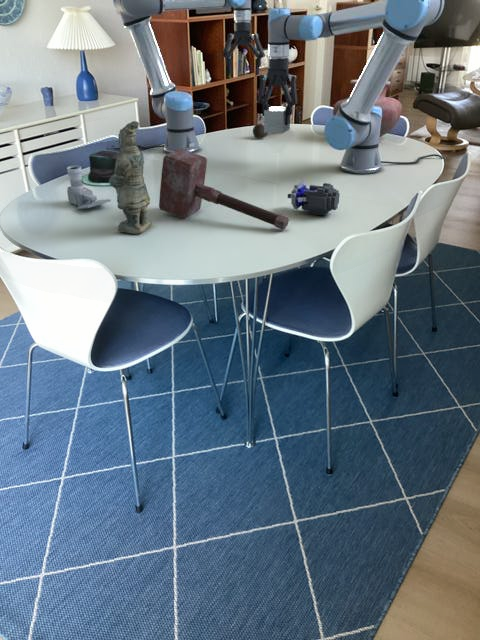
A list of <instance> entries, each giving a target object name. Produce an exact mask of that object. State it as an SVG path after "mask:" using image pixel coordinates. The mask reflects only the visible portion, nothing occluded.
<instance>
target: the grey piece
mask: <svg viewBox="0 0 480 640" xmlns="http://www.w3.org/2000/svg"><path fill="white" fill-rule="evenodd" d="M66 171H67V176H68V177H69V182H70V186H67V189H66V193H67V200H68V202H69V203H70V204H71V205H75V206H77V207H76V209H77V210H79V209H80V210H81V209H90V208H93V207H96V206H100V205H103V204H106V203H109V202H111V201H112V199H109V198H107V199H98V198H97V197H98V196H97V195H94V193H93V190H92V189H90V188H87V187H84V184H83V183H84V182H83V181H82V178H83V177H82V175H83V172H82V166H80V165H69V166H67V168H66Z"/></svg>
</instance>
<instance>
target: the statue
mask: <svg viewBox="0 0 480 640" xmlns="http://www.w3.org/2000/svg"><path fill="white" fill-rule="evenodd" d="M139 126H140V122H139V121H136V120H134V121H131V122H129V123H127V124H126V125H125V126H123V127H122V128H121V129H119V133H118V139H117V141H118V146H119V147H118V148H120V150H119V152H118V153H119V154H118V156H117V160H116V164H115V170H114V175H113V176H111V178H110V179H109V183H110V185H109V186H111V187H112V188H113V189H115V191H116V203H117V209H119V210H122V213H123V214H124V215H125V218H126V219H125V220H122V221H120V222H119V224H118V225H117V231H118V232H121V233H126V234H134V235H136V234H142V233H143V232H145V231H146V230H147V229H148V228H150V227H151V226H152V225H153V223H152V220H150V219H148V216H147V214H148V213H147V212H148V211H147V209H148V206H149V205H150V204H151V198H150V195H149V191H148V188H147V184H146V182H145V178H144V165H145V157H144V153H143V151H142V150H141V149H139V147H137V146H136V145H137V144H138V142H137V141H138V140H137V139H138V137H137V132H138V131H139V128H140V127H139Z"/></svg>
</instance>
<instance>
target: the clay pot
mask: <svg viewBox="0 0 480 640" xmlns="http://www.w3.org/2000/svg"><path fill="white" fill-rule="evenodd" d="M358 80H359V79H351V80H350V84H351V85H352V86H353V89H354V88H355V86H356V84H357V82H358ZM390 85H391V81H389V80H388V81H387V83H386V85H385V87H384V89H383V90H382V92H381V94H380V96H379V98H378V99H377V101H376V103H375V105H374V106H378V107H380V108H381V109H382V119H381V128H380V137H379V138H381V137H383V136H385V135H386V134H388V133H390V132H391V131H392V130H393V129H394V128H395V126H396V125H397V123H399V120H400V118H401V115H402V112H403V105H402V103H401V102H400V101H399V99H396V98H393V97H388V96H386V93H387V90H388V87H389V86H390ZM349 98H350V97H348V98H345V99H341V100H338V101H337V102H335V103H334V104H333V109H332V115H333V116H335V115H336V113H337V111H338V109H339V108H340V106H341V104H342V103H343V102H346V101H348V100H349ZM333 116H332V117H333Z"/></svg>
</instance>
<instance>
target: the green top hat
mask: <svg viewBox="0 0 480 640" xmlns="http://www.w3.org/2000/svg"><path fill="white" fill-rule="evenodd" d="M118 154H119V152H118V151H116V150H102V151H101V150H100V151H97V152H93V153H91V154H89V155H88V159H89V172H88V174H86V175H84V176H83V177H82V183H84V184H87V185H93V186H111V185H110V183H109V179H110V178H111V176H113V175H114V170H115V164H116V160H117V156H118Z"/></svg>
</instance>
